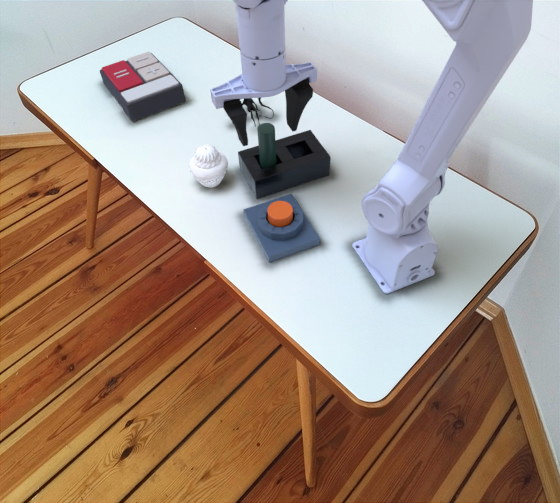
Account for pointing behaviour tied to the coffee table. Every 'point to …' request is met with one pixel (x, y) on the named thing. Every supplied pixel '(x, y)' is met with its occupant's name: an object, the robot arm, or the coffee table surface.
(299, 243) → the station
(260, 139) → the green cylinder
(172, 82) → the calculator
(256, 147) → the holder
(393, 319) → the coffee table surface
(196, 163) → the white rounded ridged piece
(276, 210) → the power button
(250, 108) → the creature
